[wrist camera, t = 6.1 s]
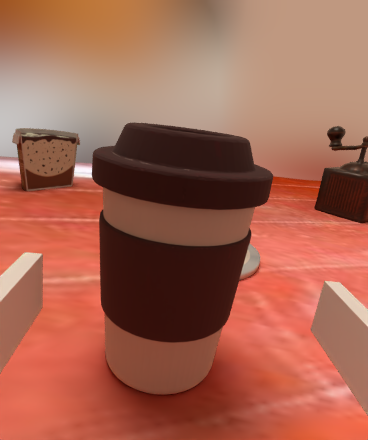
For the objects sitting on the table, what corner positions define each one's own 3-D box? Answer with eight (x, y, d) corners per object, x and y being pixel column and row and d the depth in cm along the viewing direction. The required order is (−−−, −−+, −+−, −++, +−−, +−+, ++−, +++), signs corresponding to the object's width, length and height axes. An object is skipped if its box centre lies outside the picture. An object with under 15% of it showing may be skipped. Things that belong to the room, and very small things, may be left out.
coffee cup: (177, 302, 29) (201, 128, 25) (262, 378, 22) (319, 148, 17) (62, 334, 23) (67, 113, 19) (126, 452, 16) (158, 133, 12)
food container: (59, 179, 69) (60, 129, 66) (78, 185, 66) (80, 133, 63) (-1, 184, 59) (-4, 126, 56) (18, 192, 56) (17, 131, 53)
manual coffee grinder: (380, 218, 73) (407, 134, 68) (361, 223, 66) (389, 130, 60) (315, 199, 84) (333, 126, 78) (292, 202, 76) (311, 122, 71)
